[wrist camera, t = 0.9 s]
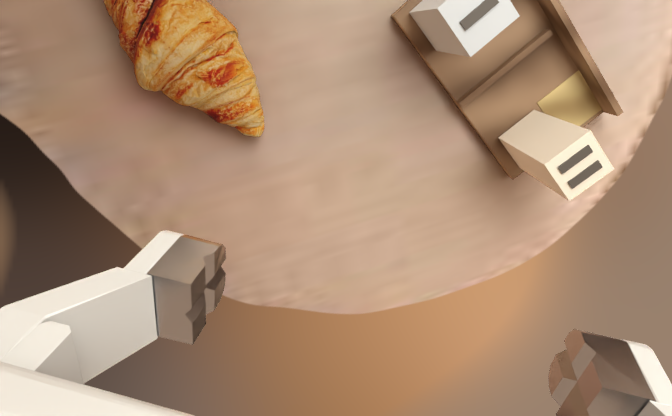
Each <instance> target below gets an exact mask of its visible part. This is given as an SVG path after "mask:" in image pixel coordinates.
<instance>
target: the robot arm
mask: <svg viewBox="0 0 672 416" xmlns="http://www.w3.org/2000/svg"><path fill="white" fill-rule="evenodd" d="M225 259H226V248H225V246H224V245H223V244H219V243H215V242H211V241H208V240H204V239H200V238H196V237H193V236H189V235H183V234H180V233H176V232H172V231H168V230H164V231H161V232H159V233H158V234H157V235H156V236H155V237H154V238H153V239H152V240H151V241H150V242H149V243H148V244H147V245H146V246H145V247H144V248H143V249H142V250H141V251H140V252H139V253H138V254H137V255H136V256H135V257H134V258H133V259H132V260H131V261H130V262H129V263H128V264H127V265H126V266H125V267H124V268H123V269H122V268H119V267H116V268H113V269H110V270H107V271H104V272H102V273H99V274H96V275H93V276H90V277H87V278H84V279H81V280H78V281H75V282H73V283H70V284H67V285H64V286H61V287H58V288H55V289H52V290H49V291H46V292H44V293H41V294H38V295H35V296H32V297H29V298H26V299H23V300H20V301H17V302H15V303H12V304H9V305H6V306H3V307H2V308H1V309H0V416H194V415H190V414H187V413H183V412H180V411H176V410H173V409H169V408H165V407H162V406H158V405H155V404H151V403H148V402H144V401H140V400H137V399H133V398H130V397H126V396H123V395H119V394H115V393H112V392H108V391H105V390H101V389H97V388H94V387H90V386H87V385H84V383H85V382H87V381H88V380H90V379H92V378H94V377H95V376H97V375H98V374H100V373H102V372H103V371H105V370H107V369H108V368H110V367H112V366H113V365H115V364H116V363H118V362H120V361H121V360H123V359H125V358H126V357H128V356H130V355H131V354H133V353H135V352H136V351H138V350H139V349H141V348H143V347H144V346H146V345H148V344H149V343H151V342H152V341H154V340H156V339H157V336H158V337H163V338H166V339H171V340H175V341H179V342H184V343H188V344H192V345H193V344H194V342H195V341H196V339H197V337H198V336H199V334H200V333H201V331H202V329H203V328H204V326H205V325H206V314H208V313H210V312H212V311H214V310H215V308H216V307H217V305H218V303H219V302H220V299H221V296H222V294H223V291H224V286H225V275H226V273H225V272H224V270H223V269H222V267H221V265H222V264H223V262H224V261H225ZM564 342H565V345H566V348H567V350H564V351H562V352H560V353H558V354H556V356H555V357H554V360H553V361H552V363H551V365H550V370H549V376H548V379H549V389H550V393H551V396H552V397H553V399H554V400H555V401H556V402H557V403H558V404H559V405H560V408H559V410H558V412H557V413H556V416H672V384H671V382H670V381H669V379H668V377H667V375H666V373H665V372H664V370H663V368H662V366H661V364H660V363H659V361H658V359H657V357H656V356H655V354H654V352H653V350H652V349H651V348H650V347H648V346H647V345H646V344H641V343H636V342H632V341H627V340H623V339H622V340H620V339H616V338H611V337H607V336H603V335H598V334H594V333H590V332H586V331H581V330H577V329H573V330H572V331H571V332H569V334H568V335H567V337H566V339H565V340H564Z"/></svg>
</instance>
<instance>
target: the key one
mask: <svg viewBox="0 0 672 416" xmlns="http://www.w3.org/2000/svg"><path fill="white" fill-rule="evenodd" d="M409 13H410V15H411V16H412V18H413V19H414V20H415V22H416V23H417V25H418V26H419V27H420V29H421V30H422V32H423V33H424V34H425V36H426V37H427V39H428V40H429V41H430V43H431V44H432V46H433V47H434V48H435V50H436V51H440V52H446V53H451V54H457V55H462V56H467V57H471V56H473V55H474V54H475V53H476V52H477V51H479V50H480V49H481V48H482V47H483V46H485V45H486V44H487V43H488V42H489V41H491V40H492V39H493V38H494V37H495V36H497V35H498V34H499V33H500V32H501V31H503V30H504V29H505V28H506V27H507V26H509V25H510V24H511V23H512V22H513V21H515V20H516V19H517V18H518V17H519V16H520V15H519V14H518V12H517V11H516V9H515V7H514V6H513V4H512V2H511V1H510V0H422V1H421V2H420V3H419V4H418V5H417V6H416V7H415V8H413V9H412V10H411V11H410V12H409Z"/></svg>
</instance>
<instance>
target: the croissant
mask: <svg viewBox="0 0 672 416" xmlns="http://www.w3.org/2000/svg"><path fill="white" fill-rule="evenodd" d="M104 4H105V6H106V8H107V10H108V13H109V16H111V17H112V19H113V22H114V24H115V26H116V27H117V29H118V30H119V39H120V46H121V47H122V49H123V50H124V51H126V53H127V54H128V56H129V58H130V59H131V61H132V62H133V64H134V71H135V76H136V79H137V82H138V84H139V85H140V86H141V87H142V88H143V89H145V90H151V91H160V90H162V92H163V93H164V94H165V95H166V96H168V97H169V98H171V99H172V100H173V101H175V102H176V103H178V104H180V105H183V106H191V107H195V108H197V109H199V110H202V111H203V112H204V113H206V114H207V115H209V116H210V117H211V118H213V119H214V120H215V121H217V122H219V123H222V124H228V125H229V126H233V127H235V128H236V129H237V130H238V131H239V132H241V133H242V134H243V135H247V136H253V137H260V136H261V134H262V133H263V130H264V116H263V110H262V107H261V103H260V95H259V91H258V88H257V85H256V83H255V82H256V77H255V74H254V72H253V70H252V66H251V64H250V62H249V61H248V60H247V58H246V56H245V54H244V52H243V49H242V47H241V46H240V44H239V42H238V39H237V37H238V33H237V30H236V28H235V27H234V26H233V25H232V24H231V23H230V22H229V21H228V20H227V19H226V18H225V17H224V16H223V15H222V14H221V13H220V12H219V11H218V10H216V9H215V8H214V7H213V6H212V5H211V4H209V3H208V2H207V1H206V0H104Z"/></svg>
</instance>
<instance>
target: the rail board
mask: <svg viewBox="0 0 672 416" xmlns="http://www.w3.org/2000/svg"><path fill="white" fill-rule="evenodd" d="M421 1H422V0H408V1H407V2H406V3H405V4H404V5H402V6H401V7H400V8H399V9H398V10H397V11H396V12H395V13H394V14H392V15H391V16H392V17H393V19H394V20H395V22H396V23H397V24H398V26H399V27H400V28H401V30H402V31H403V32H404V34H405V35H406V37H407V38H408V39H409V41H410V42H411V43H412V45H413V46H414V48H415V49H416V50H417V52H418V53H419V54H420V56H421V57H422V59H423V60H424V61H425V63H426V64H427V65H428V67H429V68H430V69H431V71H432V72H433V74H434V75H435V76H436V78H437V79H438V80H439V82H440V83H441V85H442V86H443V87H444V89H445V90H446V91H447V93H448V94H449V95H450V97H451V98H452V100H453V101H454V102H455V104H456V105H457V106H458V108H459V109H460V111H461V112H462V113H463V115H464V116H465V117H466V119H467V120H468V122H469V123H470V124H471V126H472V127H473V128H474V130H475V131H476V132H477V134H478V135H479V137H480V138H481V139H482V141H483V142H484V143H485V145H486V146H487V148H488V149H489V150H490V152H491V153H492V154H493V156H494V157H495V158H496V160H497V161H498V163H499V164H500V165H501V167H502V168H503V169H504V171H505V172H506V174H507V175H508V176H509V177H510V178H512V179H514V178H516V177H517V176H518V175H520V174H521V173H522V172H524V171H523V170H522V169H520V168H519V166H518V165H517V163H516V162H515V161H514V159H513V158H512V156H511V155H510V154H509V152H508V151H507V149H506V148H505V147H504V145H503V144H502V142H501V141H500V140H499V138H498V137H500V136H501V135H502V134H503V133H505V132H506V131H507V130H509V129H510V128H511V127H513V126H514V125H515V124H516V123H518V122H519V121H520V120H522V119H523V118H524V117H525V116H527V115H528V114H529V113H531V112H532V111H533V110H536V111H539V112H542V113H544V114H547V115H550V116H553V117H555V118H558V119H561V120H563V121H566V122H569V123H572V124H574V125H577V126H580V127H584V126H585V125H586V124H588V123H589V122H591V121H592V120H593V119H595V118H596V117H597V116H599V115H600V114H601V113H603V112H606V113H609V114H613V115H616V116H619V115H620V114H621V113H623V111H622V109H621V107H620V106H619V104H618V102H617V100H616V99H615V97H614V95H613V93H612V92H611V90H610V88H609V86H608V85H607V83H606V81H605V79H604V78H603V76H602V74H601V73H600V71H599V69H598V67H597V66H596V64H595V62H594V60H593V59H592V57H591V55H590V53H589V52H588V50H587V48H586V46H585V45H584V43H583V41H582V39H581V38H580V36H579V34H578V33H577V31H576V29H575V27H574V26H573V24H572V22H571V20H570V19H569V17H568V15H567V13H566V12H565V10H564V8H563V6H562V5H561V3H560V1H559V0H510V1H511V2H512V4H513V6H514V7H515V9H516V11H517V12H518V14H519V15H520V16H519V17H518V18H517V19H516V20H515V21H513V22H512V23H511V24H510V25H509V26H507V27H506V28H505V29H504V30H503V31H501V32H500V33H499V34H498V35H497V36H495V37H494V38H493V39H492V40H491V41H489V42H488V43H487V44H486V45H485V46H483V47H482V48H481V49H480V50H479V51H477V52H476V53H475V54H474V55H473V56H471V57H467V56H462V55H457V54H451V53H446V52H440V51H436V50H435V48H434V47H433V46H432V44H431V43H430V41H429V40H428V39H427V37H426V36H425V34H424V33H423V32H422V30H421V29H420V27H419V26H418V25H417V23H416V22H415V20H414V19H413V18H412V16H411V15H410V13H409V12H410V11H411V10H412V9H413V8H415V7H416V6H417V5H418V4H419V3H420V2H421Z"/></svg>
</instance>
